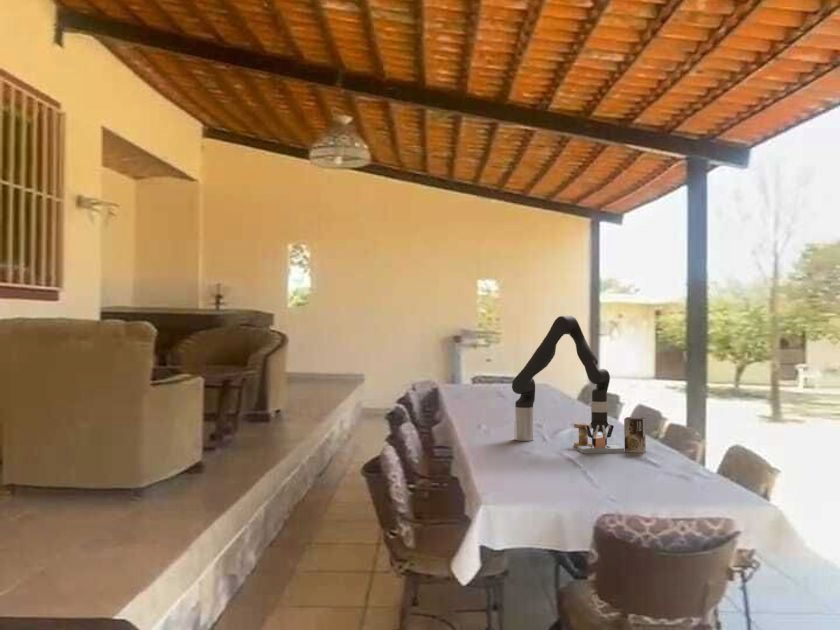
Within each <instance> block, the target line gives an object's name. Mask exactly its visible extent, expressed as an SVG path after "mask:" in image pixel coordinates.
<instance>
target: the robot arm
mask: <svg viewBox="0 0 840 630" xmlns="http://www.w3.org/2000/svg"><path fill="white" fill-rule="evenodd" d="M565 335H569V336H570V337H571V339H572V340H573V342H574V343H575V350H576V353H577V356H578V359H579V361H580V362H581V364H582V365H583V366H584V369H585V373H586V376H587V378H588V380H589V381H590V382H591V383H592V384H593V385H596V387H595V388H593V390H592V391H591V405H590V406H591V408H590V411H591V412H590V413H591V415H590V416H591V417H590V418H591V422H590V423H589V424H590V425H585V428H586V431H587V434H588V438H590V439H591V443H592V445H593V448H594V447H595V446H596V439H595V438H596V437H597V434H598V433H601V434H602V437H604V438H605V447H606V445H608V443H607V442H608V438H611V437H612V433H613V430H614V427H615V426H614V425H613V424H609V423H608V397H607V396H608V390H609V385H610V382H611V381H610V380H611V376H610V373H609V370H607V369H605V368H598V367H597V365H598V363H599V362H598V359H597V357H596V356H595V353H594V352H593V351H592V349H591V348H590V346H589V344H588V342H587V339H586V338H585V336H584V333H583V331H582V329H581V326H580V324H579V322H578V320H577V319H576V317H575V316H572V315H560V316H558V317H556V319H554V321H553V323H552V325H551V327H550V328H549V331H548V333H547V334H546V336H544V338H543V340H542V341H541V343H540V344H539V346H538V347H537V348H536V349H535V351H534V353H533V354H532V355H531V357H530V359H529V360H528V362H527V363H526V364H525V365H524V367H523V368H522V369H521V370H520V372H518V374H517V375H516V376H515V377H514V379H512V383H511V389H512V392H513V393H515V394H516V395H520V396H519V398H518V399H517V400H516V401H515V403H514V404H515V406H514V407H515V418H514V419H515V420H514V440H516V441H522V442H530V441H533V440H534V403H535V401H536V400H535V399H536V381H535V379H534V377H535V376H536V375H538V374H539V373H541V372H542V371H543V370H544V369H546V367H548V365H549V364H550V363H551V362H552V360H553V359H554V357H555V355H556V350H557V345H558V342H559V341H560V340H561V338H562V337H563V336H565ZM591 427H592V428H591ZM607 428H608V430H606V429H607ZM591 429H592V432H591Z"/></svg>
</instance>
